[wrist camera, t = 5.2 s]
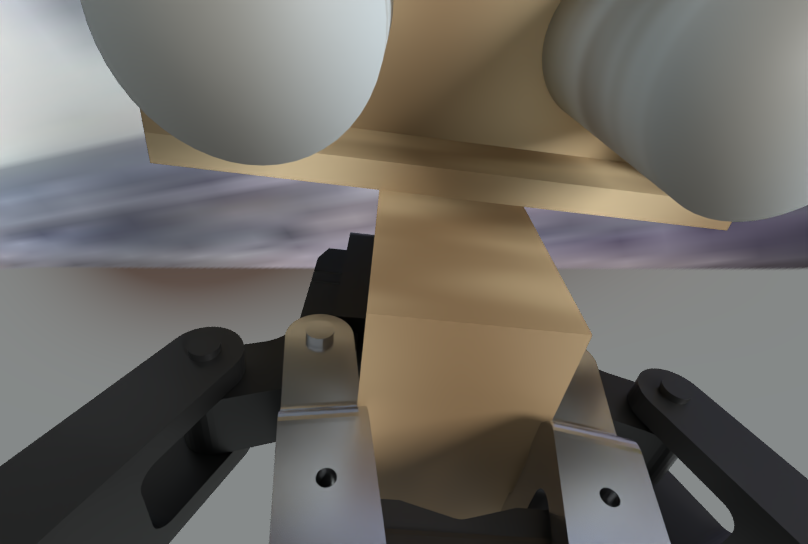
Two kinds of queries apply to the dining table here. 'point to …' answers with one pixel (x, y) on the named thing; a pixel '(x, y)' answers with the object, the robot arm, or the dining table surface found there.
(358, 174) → the tray
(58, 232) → the dining table surface
